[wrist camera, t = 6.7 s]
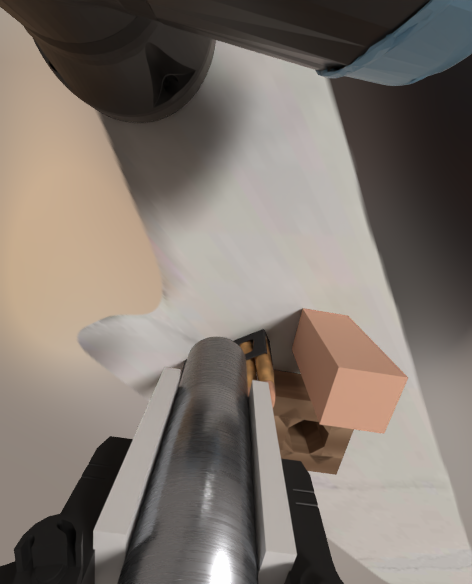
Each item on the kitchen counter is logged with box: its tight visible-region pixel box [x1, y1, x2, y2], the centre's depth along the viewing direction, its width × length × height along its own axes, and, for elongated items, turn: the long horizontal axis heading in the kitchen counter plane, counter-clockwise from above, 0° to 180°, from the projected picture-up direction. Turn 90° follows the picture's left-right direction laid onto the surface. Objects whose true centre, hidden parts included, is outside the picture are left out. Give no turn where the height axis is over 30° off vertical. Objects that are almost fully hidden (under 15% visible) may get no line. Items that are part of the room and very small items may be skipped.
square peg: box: [292, 308, 408, 433], centre depth 27 cm, size 6×6×12 cm
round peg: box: [117, 337, 258, 584], centre depth 10 cm, size 3×3×12 cm
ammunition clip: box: [179, 329, 275, 408], centre depth 28 cm, size 11×2×12 cm, turn 114°
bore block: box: [273, 370, 354, 474], centre depth 34 cm, size 10×10×5 cm
